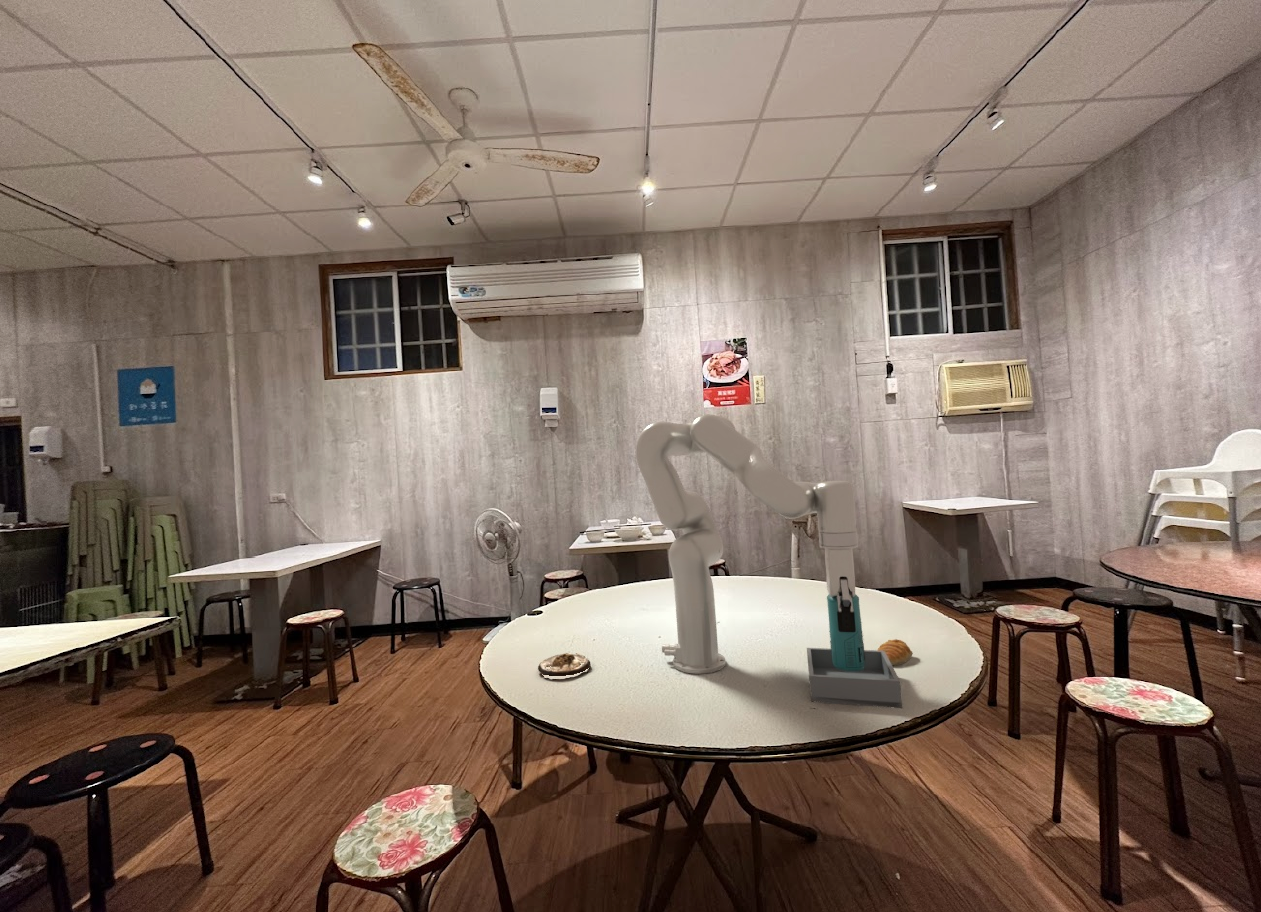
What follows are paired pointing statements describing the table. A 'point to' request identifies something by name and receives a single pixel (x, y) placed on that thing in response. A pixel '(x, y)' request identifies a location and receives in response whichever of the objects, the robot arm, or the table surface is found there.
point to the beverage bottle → (846, 638)
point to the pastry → (896, 651)
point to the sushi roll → (564, 665)
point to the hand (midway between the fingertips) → (845, 625)
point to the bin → (854, 680)
